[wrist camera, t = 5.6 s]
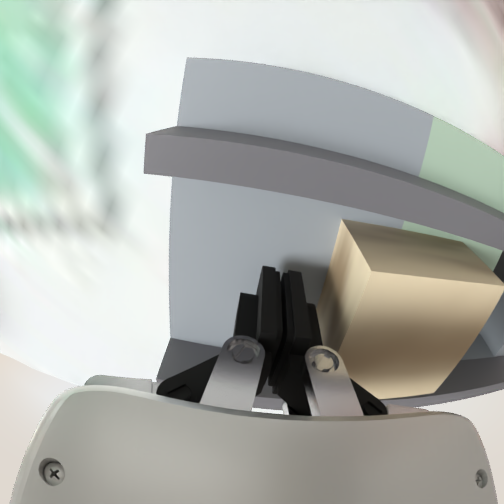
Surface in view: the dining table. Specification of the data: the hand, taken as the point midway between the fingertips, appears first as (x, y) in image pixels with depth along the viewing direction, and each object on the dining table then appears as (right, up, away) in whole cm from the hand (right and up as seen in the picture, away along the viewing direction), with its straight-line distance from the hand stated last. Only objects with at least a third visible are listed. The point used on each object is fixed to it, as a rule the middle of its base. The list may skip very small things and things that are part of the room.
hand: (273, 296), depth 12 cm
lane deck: (+9, +1, +4) cm, 10 cm away
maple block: (+6, 0, +1) cm, 6 cm away
